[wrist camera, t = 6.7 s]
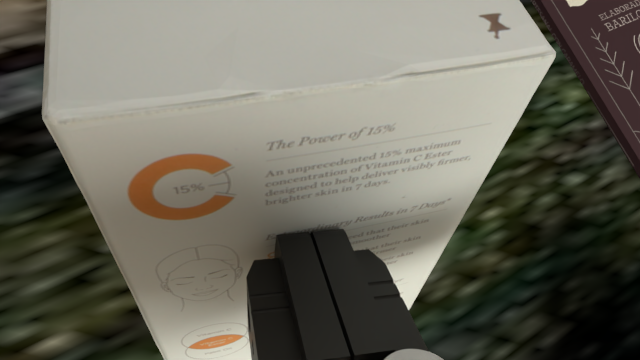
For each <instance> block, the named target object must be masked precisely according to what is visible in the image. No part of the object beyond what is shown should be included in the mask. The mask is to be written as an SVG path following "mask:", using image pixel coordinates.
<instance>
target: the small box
mask: <svg viewBox="0 0 640 360" xmlns="http://www.w3.org/2000/svg"><path fill="white" fill-rule="evenodd" d="M555 57H556V52H555V51H554V49H553V48H552V47H551V46H550V44H549V43H548V42H547V40H546V39H545V37H544V36H543V34H542V33H541V31H540V30H539V28H538V27H537V25H536V24H535V23H534V21H533V20H532V18H531V17H530V15H529V14H528V12H527V11H526V9H525V8H524V6H523V5H522V4H521V2H520V1H519V0H47V15H46V38H45V60H44V81H43V102H42V119H43V121H44V123H45V125H46V126H47V128H48V130H49V132H50V133H51V135H52V137H53V139H54V140H55V142H56V144H57V146H58V148H59V150H60V151H61V153H62V155H63V157H64V159H65V161H66V163H67V165H68V167H69V169H70V171H71V173H72V175H73V177H74V179H75V181H76V183H77V185H78V187H79V188H80V190H81V192H82V194H83V196H84V198H85V200H86V202H87V204H88V206H89V208H90V210H91V212H92V214H93V216H94V218H95V220H96V222H97V224H98V226H99V228H100V230H101V232H102V234H103V236H104V239H105V241H106V243H107V245H108V247H109V249H110V251H111V253H112V255H113V257H114V259H115V261H116V263H117V265H118V267H119V269H120V271H121V273H122V275H123V277H124V279H125V281H126V283H127V285H128V287H129V289H130V291H131V293H132V295H133V297H134V299H135V301H136V303H137V305H138V307H139V309H140V311H141V314H142V316H143V318H144V320H145V322H146V324H147V326H148V328H149V330H150V332H151V334H152V337H153V339H154V341H155V343H156V345H157V346H158V348H159V350H160V352H161V354H162V356H163V358H164V360H252V358H251V349H250V342H249V334H248V316H247V281H246V277H247V275H248V272H249V270H250V268H251V266H252V263H253V261H254V260H261V259H271V258H274V251H275V243H276V235H281V234H290V233H301V232H309V233H310V234H311V231H323V230H335V229H344V230H345V232H346V234H347V236H348V239H349V241H350V243H351V246H352V248H353V250H354V251H355V250H366V249H369V250H370V251H371V252H373V253H374V254H375V255H376V256H377V257H379V258H380V259H381V260H382V261H383V262H384V263H385V264H386V266H387V268H388V270H389V272H390V274H391V276H392V278H393V282H394V283H395V284H396V286H397V288H398V290H399V292H400V297H402V298H403V300H404V302H405V304H406V306H407V308H408V310H409V309H410V308H411V306H412V304H413V302H414V301H415V299H416V297H417V295H418V294H419V292H420V290H421V288H422V287H423V285H424V283H425V281H426V280H427V278H428V276H429V274H430V273H431V271H432V269H433V267H434V266H435V264H436V262H437V261H438V259H439V257H440V255H441V254H442V252H443V250H444V248H445V247H446V245H447V243H448V241H449V240H450V238H451V236H452V235H453V233H454V231H455V229H456V228H457V226H458V224H459V223H460V221H461V219H462V217H463V216H464V214H465V212H466V210H467V209H468V207H469V205H470V203H471V202H472V200H473V198H474V197H475V195H476V193H477V191H478V190H479V188H480V186H481V184H482V183H483V181H484V179H485V177H486V176H487V174H488V172H489V171H490V169H491V167H492V165H493V164H494V162H495V160H496V158H497V157H498V155H499V153H500V152H501V150H502V148H503V146H504V145H505V143H506V141H507V140H508V138H509V136H510V134H511V133H512V131H513V129H514V127H515V126H516V124H517V122H518V121H519V119H520V117H521V115H522V114H523V112H524V110H525V108H526V106H527V105H528V103H529V101H530V99H531V97H532V96H533V94H534V92H535V91H536V89H537V87H538V86H539V84H540V82H541V81H542V79H543V77H544V76H545V74H546V72H547V71H548V69H549V67H550V65H551V64H552V62H553V60H554V59H555Z"/></svg>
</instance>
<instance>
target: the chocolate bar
mask: <svg viewBox="0 0 640 360" xmlns="http://www.w3.org/2000/svg"><path fill="white" fill-rule="evenodd" d="M531 1H532V3H533V5H534V6H535V8H536V10H537V11H538V13H539V15H540V16H541V18H542V19H543V21H544V23H545V24H546V26H547V28H548V29H549V31H550V32H551V34H552V36H553V37H554V39H555V41H556V42H557V44H558V46H559V47H560V49H561V50H562V52H563V54H564V55H565V57H566V59H567V60H568V62H569V64H570V65H571V67H572V68H573V70H574V72H575V73H576V75H577V77H578V78H579V80H580V82H581V83H582V85H583V86H584V88H585V90H586V91H587V93H588V95H589V96H590V98H591V99H592V101H593V103H594V104H595V106H596V108H597V109H598V111H599V113H600V114H601V116H602V117H603V119H604V121H605V122H606V124H607V126H608V127H609V129H610V131H611V132H612V134H613V135H614V137H615V139H616V140H617V142H618V144H619V145H620V147H621V149H622V150H623V152H624V153H625V155H626V157H627V158H628V160H629V162H630V163H631V165H632V166H633V168H634V170H635V171H636V173H637V175H638V176H639V178H640V0H531Z"/></svg>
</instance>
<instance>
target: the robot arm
mask: <svg viewBox="0 0 640 360" xmlns="http://www.w3.org/2000/svg"><path fill="white" fill-rule="evenodd" d="M246 281H247V316H248V334H249V342H250V349H251V358H252V360H443V359H442V358H441V357H439V356H437V355H435V354H433V353H431V352H429V351H428V349H427V347H426V345H425V343H424V341H423V339H422V337H421V335H420V333H419V331H418V329H417V327H416V325H415V323H414V321H413V319H412V317H411V315H410V313H409V310H408V308H407V306H406V304H405V302H404V300H403V298H402V297H400V292H399V290H398V288H397V286H396V284H395V283H394V282H393V278H392V276H391V274H390V272H389V270H388V268H387V266H386V264H385V263H384V262H383V261H382V260H381V259H380V258H379V257H377V256H376V255H375V254H374V253H373V252H371V251H370V250H369V249H366V250H355V251H354V250H353V248H352V246H351V243H350V241H349V239H348V236H347V234H346V232H345V230H344V229H335V230H323V231H311V234H310V233H309V232H301V233H290V234H281V235H276V243H275V251H274V258H271V259H261V260H254V261H253V263H252V266H251V268H250V270H249V272H248V275H247V277H246Z"/></svg>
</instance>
